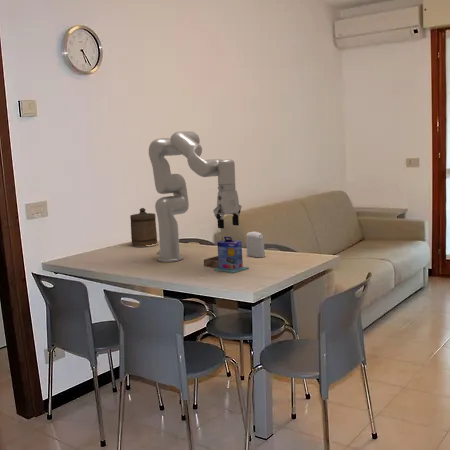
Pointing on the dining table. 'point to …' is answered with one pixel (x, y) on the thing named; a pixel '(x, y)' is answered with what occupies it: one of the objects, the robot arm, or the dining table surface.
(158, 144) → the robot arm
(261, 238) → the photo printer
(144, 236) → the wooden container
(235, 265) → the ink cartridge box
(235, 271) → the teal mat
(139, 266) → the dining table surface
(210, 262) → the walnut frame
